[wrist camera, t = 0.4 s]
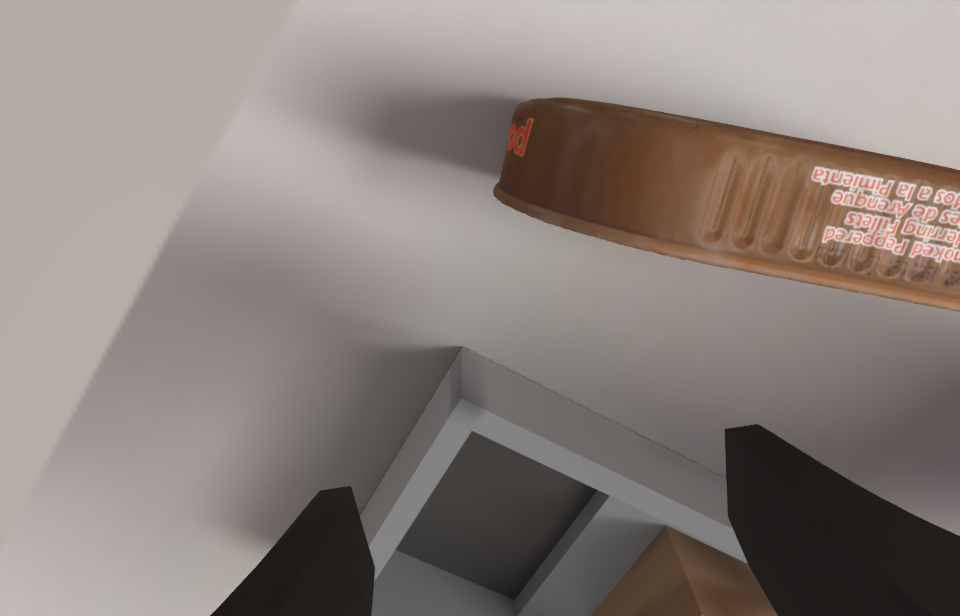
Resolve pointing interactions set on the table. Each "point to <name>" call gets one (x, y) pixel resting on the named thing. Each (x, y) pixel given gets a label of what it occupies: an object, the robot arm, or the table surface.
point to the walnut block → (686, 582)
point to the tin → (738, 198)
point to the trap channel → (525, 502)
